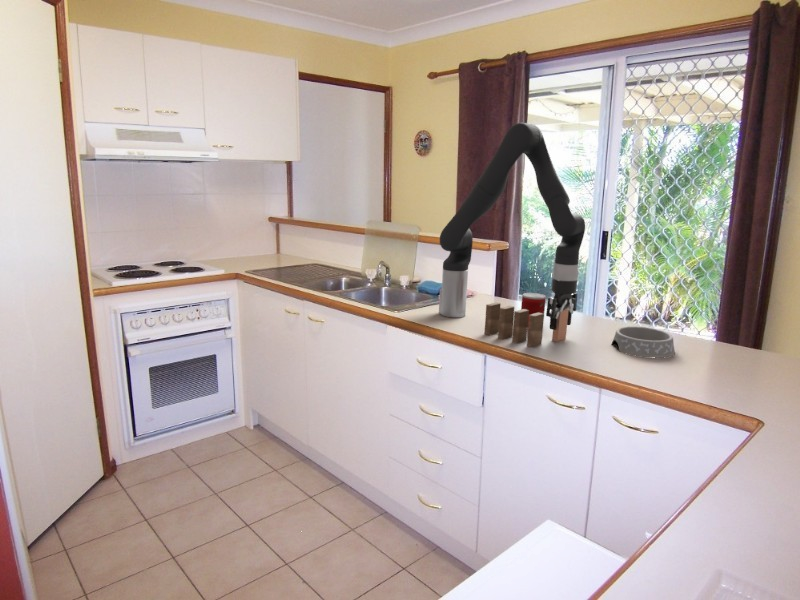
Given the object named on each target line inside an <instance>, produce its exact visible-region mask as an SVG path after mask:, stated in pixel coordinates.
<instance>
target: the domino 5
mask: <svg viewBox="0 0 800 600" xmlns="http://www.w3.org/2000/svg"><path fill="white" fill-rule="evenodd" d="M568 311H569V309H564V310H562V312H561V313H560V314H559V316H558V318H557V319H558V322H557V329H556V330H552V335H551V337H552V338H551V340H552V341H553V342H561V341H563V340H565V339H566V338H567V331H568V329H567V328H568V325H567V321H568ZM555 314H556V312H555Z"/></svg>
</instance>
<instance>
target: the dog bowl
mask: <svg viewBox="0 0 800 600" xmlns="http://www.w3.org/2000/svg"><path fill="white" fill-rule="evenodd" d="M615 342H616V343H617V345H618V349H619V350H618V352H621V353H622V352H623V354H625V353H627V354H626V355H629V354H630V356H633V355H636V356H635V357H638V356H642V357H641V358H644V357H655V358H654V359H656V358H661V359H665V358H664V357H669V358H671V357H670V356H672V357H674V356H675V355H676V352H675V345H674V337H673V334H670V333H669V332H667V331H664V330H661V329H656V328H653V327H646V326H634V325H633V326H631V325H630V326H622V327H619V328H617V329H616V330H615V334H614V336H613V339H612V341H611V343H610V344H611V345H613V344H614V343H615ZM674 354H675V355H674ZM673 355H674V356H673Z"/></svg>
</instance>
